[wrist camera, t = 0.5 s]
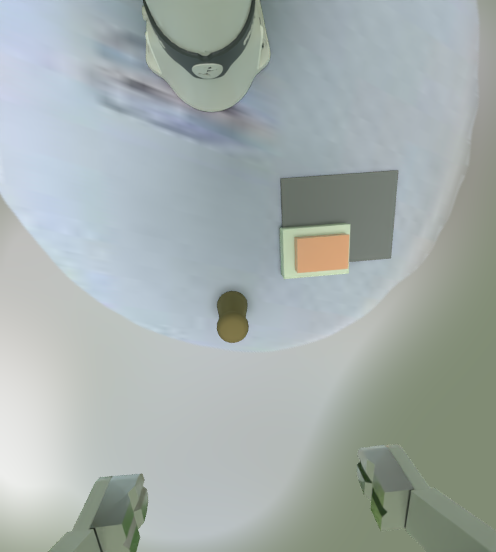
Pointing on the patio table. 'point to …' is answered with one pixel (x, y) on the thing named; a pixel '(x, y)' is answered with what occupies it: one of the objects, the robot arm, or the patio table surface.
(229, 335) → the cork
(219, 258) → the patio table surface
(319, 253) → the block
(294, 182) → the mat
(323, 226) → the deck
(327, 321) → the patio table surface
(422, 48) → the patio table surface
